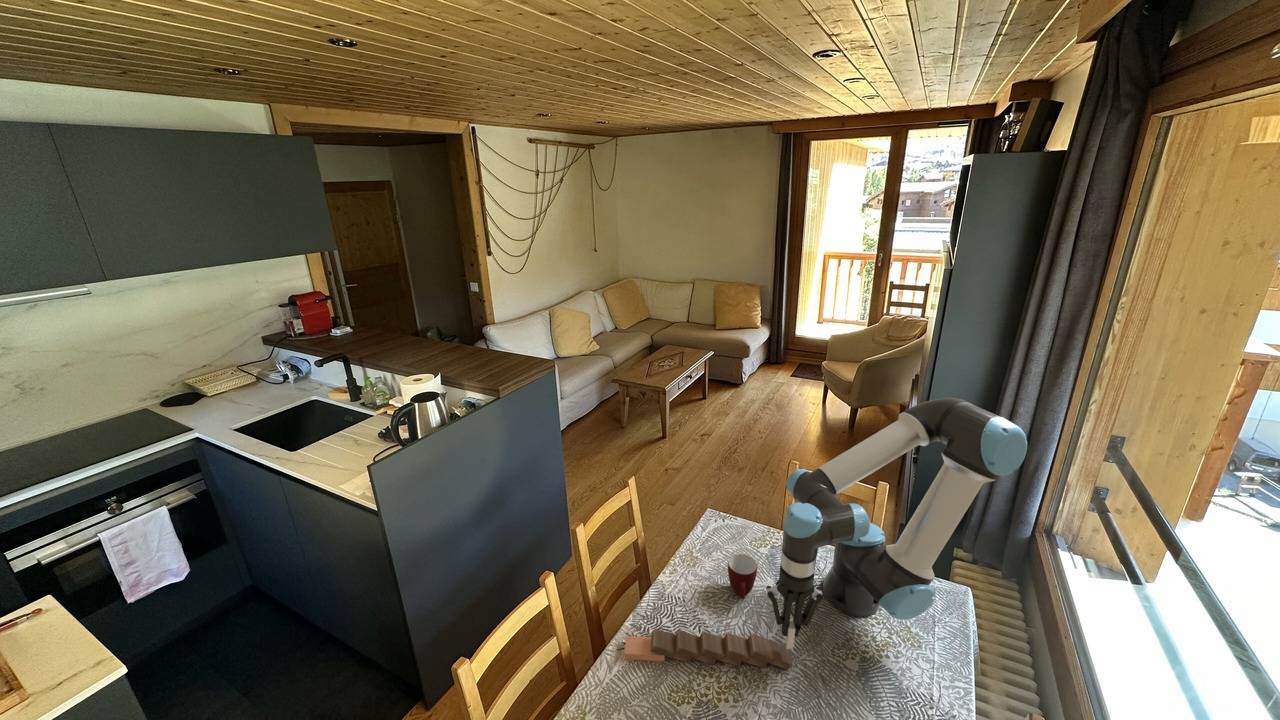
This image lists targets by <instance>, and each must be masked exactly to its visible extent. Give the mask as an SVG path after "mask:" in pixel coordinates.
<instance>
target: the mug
mask: <svg viewBox="0 0 1280 720" xmlns="http://www.w3.org/2000/svg"><path fill="white" fill-rule="evenodd" d="M757 572H758V564H757V561H756V560H755V559H754V558H753V557H751V556H750V555H748V554H742V553H741V554H740V553H738V554H734V555H732V556H730V558H729V559H728V564H727V574H728V579H729V585H730V588H731V589H732V592H733V593H734V594H735V596H738V597H739V599H742V600H744V599H745V597H747V596H748V594H750V592H751V591H752V589H753V587H754V585H755V582H756V580H757V579H756V578H757V575H758V573H757Z"/></svg>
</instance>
